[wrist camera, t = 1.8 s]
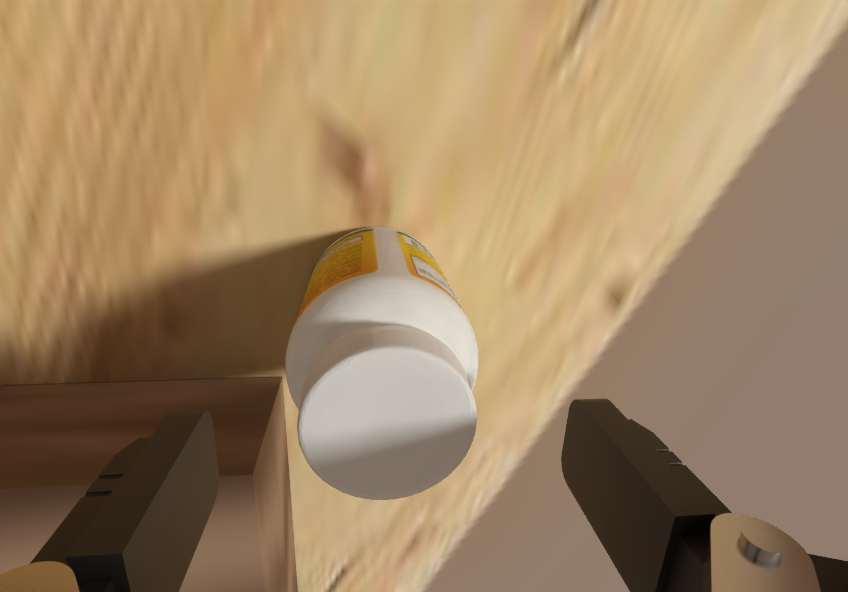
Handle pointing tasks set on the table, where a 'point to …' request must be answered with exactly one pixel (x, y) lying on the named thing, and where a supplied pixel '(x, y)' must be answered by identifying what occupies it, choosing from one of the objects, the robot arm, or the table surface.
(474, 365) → the supplement bottle
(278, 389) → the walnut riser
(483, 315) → the table surface
